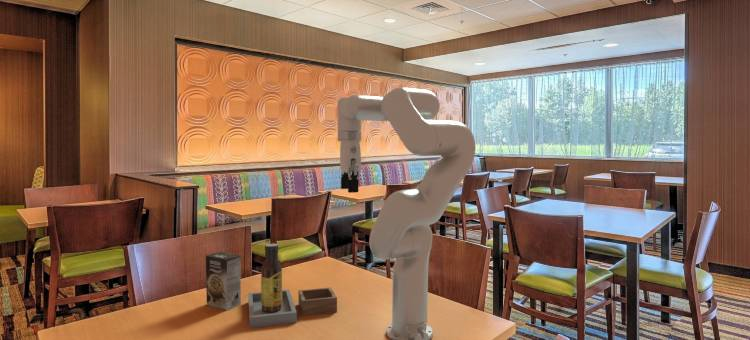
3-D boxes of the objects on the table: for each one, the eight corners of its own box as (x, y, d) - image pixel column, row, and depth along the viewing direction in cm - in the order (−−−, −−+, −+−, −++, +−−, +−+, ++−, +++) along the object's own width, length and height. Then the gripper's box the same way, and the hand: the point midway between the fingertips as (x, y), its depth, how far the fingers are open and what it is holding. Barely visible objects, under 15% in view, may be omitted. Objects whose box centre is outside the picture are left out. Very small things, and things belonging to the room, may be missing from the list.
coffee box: (205, 305, 139) (204, 255, 138) (221, 299, 144) (220, 250, 143) (226, 311, 135) (225, 259, 133) (242, 304, 140) (241, 254, 139)
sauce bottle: (277, 314, 130) (276, 248, 129) (257, 312, 132) (256, 247, 130) (285, 305, 137) (285, 243, 135) (267, 304, 138) (266, 242, 137)
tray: (296, 322, 126) (296, 312, 126) (249, 328, 123) (249, 317, 122) (289, 298, 146) (289, 289, 145) (248, 302, 142) (248, 293, 141)
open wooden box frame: (337, 311, 134) (337, 297, 134) (302, 315, 131) (302, 301, 131) (330, 300, 143) (330, 287, 143) (298, 304, 140) (298, 290, 140)
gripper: (368, 137, 132) (368, 193, 133) (354, 137, 149) (354, 187, 150) (344, 137, 130) (344, 194, 131) (332, 136, 146) (332, 187, 148)
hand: (349, 190), depth 141 cm, fingers open, 9 cm apart
